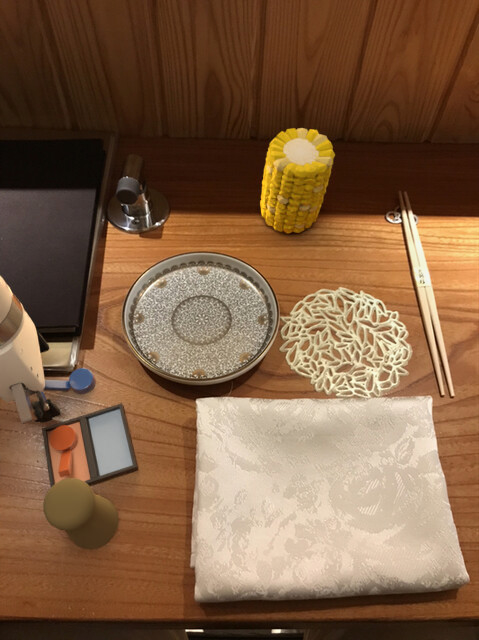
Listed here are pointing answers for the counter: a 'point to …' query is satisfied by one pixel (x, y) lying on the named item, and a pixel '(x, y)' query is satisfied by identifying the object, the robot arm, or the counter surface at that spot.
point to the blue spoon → (73, 382)
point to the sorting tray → (95, 447)
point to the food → (295, 179)
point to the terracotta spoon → (64, 447)
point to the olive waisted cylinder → (81, 513)
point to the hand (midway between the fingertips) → (43, 383)
